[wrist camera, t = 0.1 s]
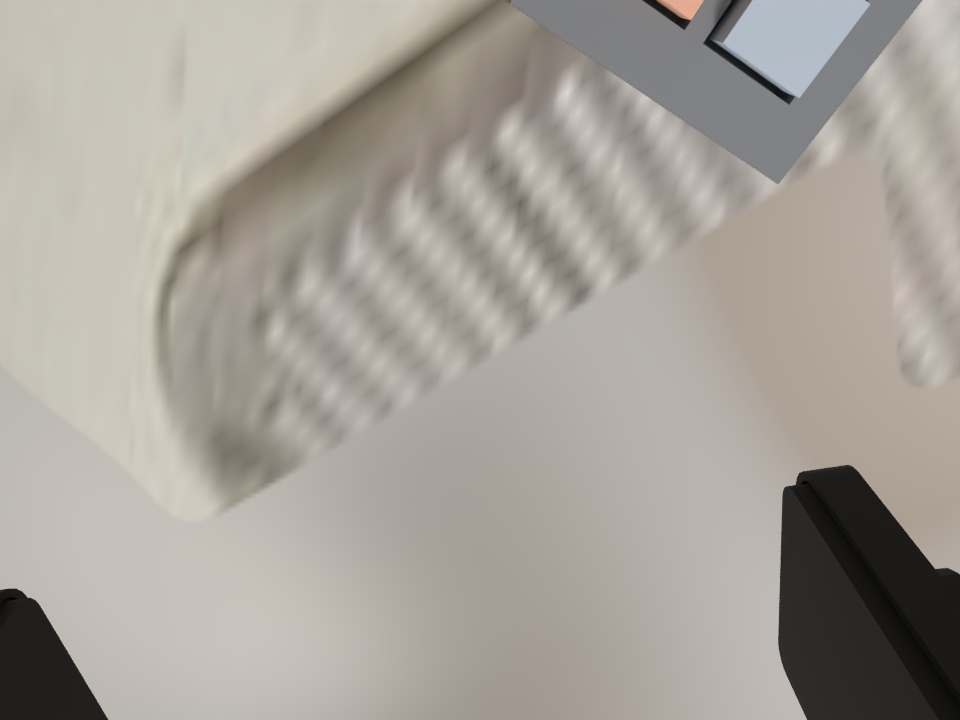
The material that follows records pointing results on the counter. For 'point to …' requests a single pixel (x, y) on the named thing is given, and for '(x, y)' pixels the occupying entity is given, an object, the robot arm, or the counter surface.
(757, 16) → the slate key
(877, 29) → the keypad
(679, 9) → the terracotta key
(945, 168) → the counter surface
